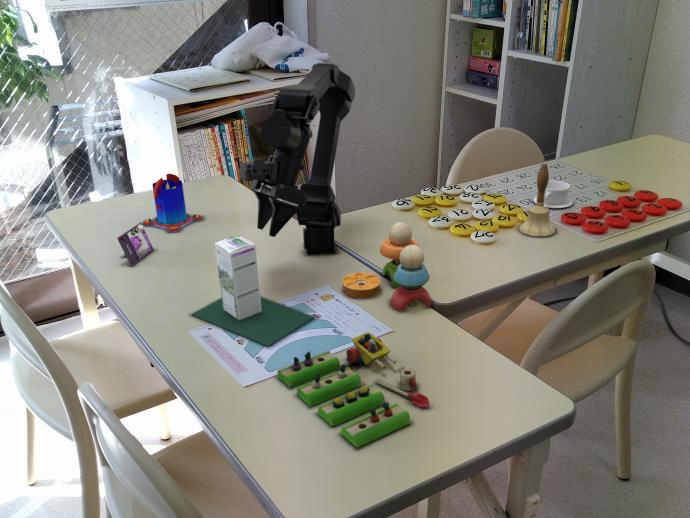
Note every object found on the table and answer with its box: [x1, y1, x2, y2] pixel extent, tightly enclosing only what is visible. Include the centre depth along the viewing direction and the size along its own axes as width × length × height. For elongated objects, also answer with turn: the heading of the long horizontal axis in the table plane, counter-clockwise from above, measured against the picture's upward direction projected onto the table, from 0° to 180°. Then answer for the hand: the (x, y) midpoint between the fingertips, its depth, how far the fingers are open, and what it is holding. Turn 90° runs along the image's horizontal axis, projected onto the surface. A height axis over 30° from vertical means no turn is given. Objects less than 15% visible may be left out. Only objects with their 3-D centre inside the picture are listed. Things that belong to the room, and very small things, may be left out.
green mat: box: [191, 297, 315, 348], centre depth 143 cm, size 20×13×1 cm, turn 53°
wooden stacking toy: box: [341, 222, 432, 313], centre depth 147 cm, size 18×17×12 cm
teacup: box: [532, 179, 574, 209], centre depth 191 cm, size 10×10×5 cm
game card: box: [117, 222, 155, 267], centre depth 167 cm, size 7×5×9 cm
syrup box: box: [214, 234, 262, 320], centre depth 141 cm, size 6×6×14 cm
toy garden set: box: [277, 331, 430, 449], centre depth 121 cm, size 23×19×5 cm
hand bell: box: [518, 163, 556, 238], centre depth 173 cm, size 8×8×16 cm
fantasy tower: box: [142, 173, 203, 234], centre depth 182 cm, size 12×12×12 cm
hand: (265, 232), depth 147 cm, fingers open, 9 cm apart
